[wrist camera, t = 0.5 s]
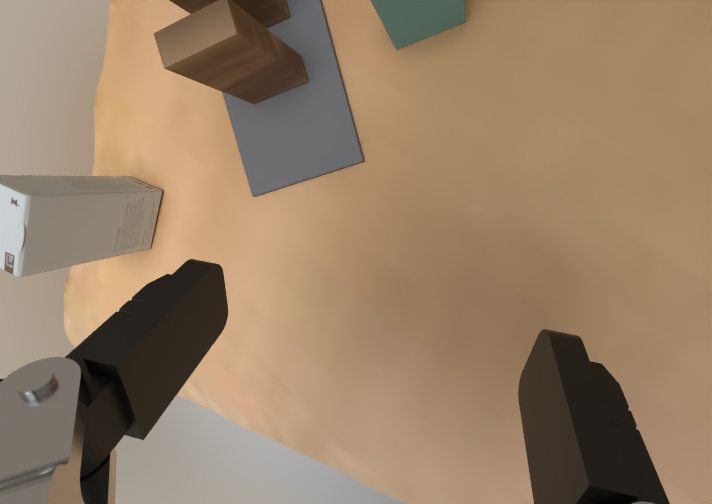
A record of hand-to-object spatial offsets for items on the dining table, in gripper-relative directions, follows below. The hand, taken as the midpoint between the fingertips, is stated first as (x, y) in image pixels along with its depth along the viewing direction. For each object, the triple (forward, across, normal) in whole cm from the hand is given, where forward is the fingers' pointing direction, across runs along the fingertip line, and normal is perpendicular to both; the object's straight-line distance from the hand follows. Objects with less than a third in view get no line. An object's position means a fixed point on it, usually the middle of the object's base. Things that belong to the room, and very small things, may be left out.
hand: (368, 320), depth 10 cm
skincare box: (+21, +25, +12) cm, 35 cm away
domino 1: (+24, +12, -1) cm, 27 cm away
